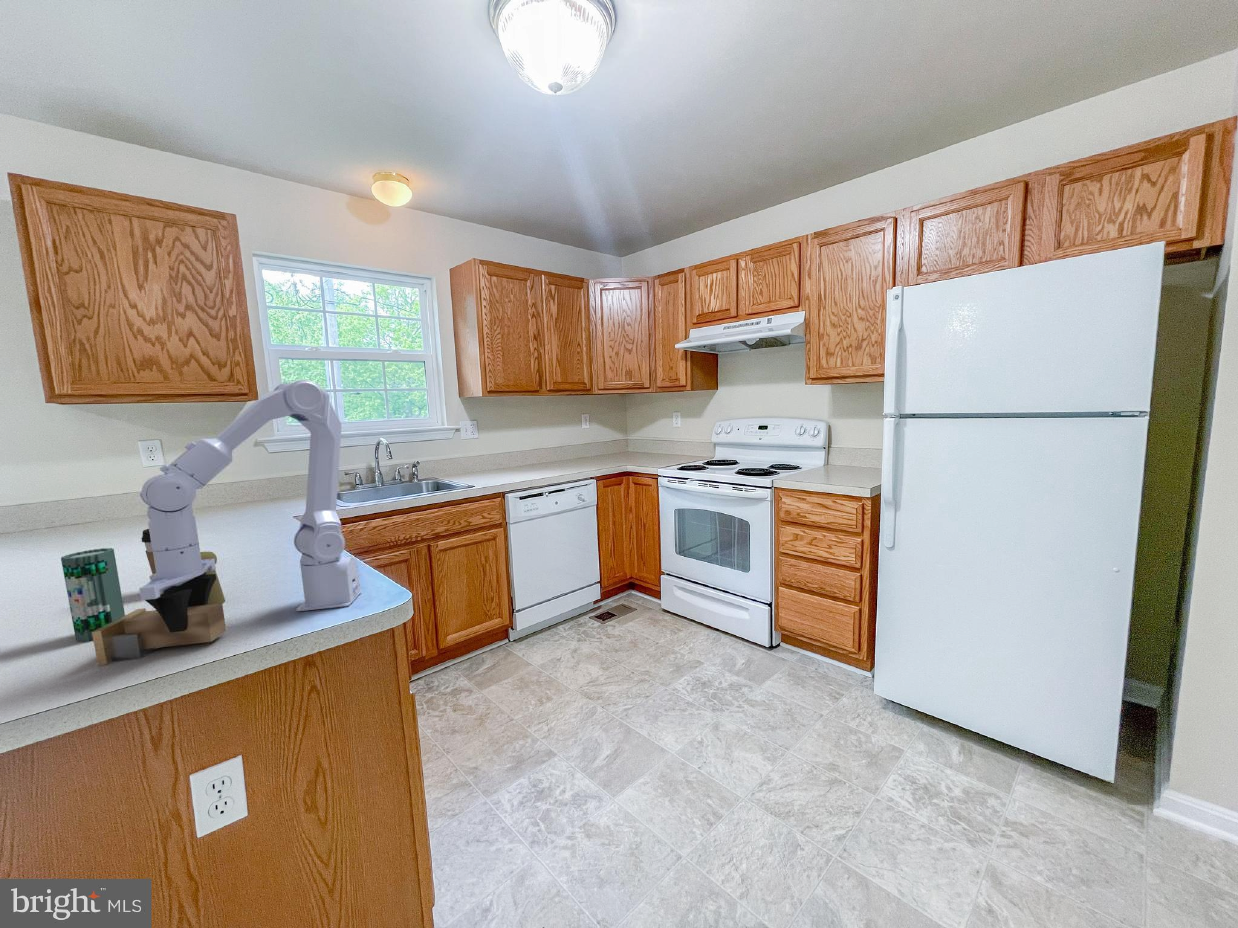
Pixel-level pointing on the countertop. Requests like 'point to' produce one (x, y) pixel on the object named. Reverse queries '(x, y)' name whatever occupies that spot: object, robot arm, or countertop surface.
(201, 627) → the tan rectangular block
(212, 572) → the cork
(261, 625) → the countertop surface
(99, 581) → the can
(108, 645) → the bracket
